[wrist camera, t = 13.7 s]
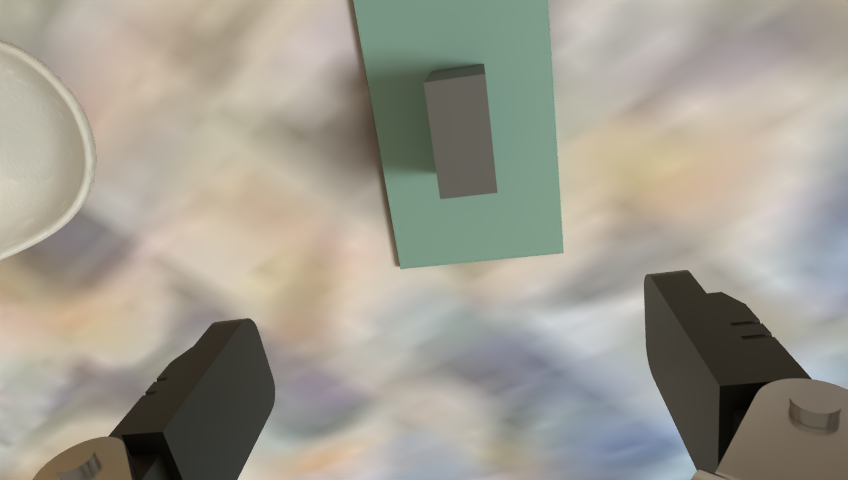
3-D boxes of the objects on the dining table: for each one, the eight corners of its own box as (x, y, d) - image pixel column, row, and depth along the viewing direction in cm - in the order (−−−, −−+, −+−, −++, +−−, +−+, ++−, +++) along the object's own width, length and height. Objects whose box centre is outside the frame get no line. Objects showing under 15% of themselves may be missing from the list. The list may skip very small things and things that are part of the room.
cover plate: (541, -66, 31) (556, -80, 25) (561, 246, 37) (576, 289, 32) (350, -33, 32) (324, -41, 26) (402, 262, 39) (389, 306, 33)
